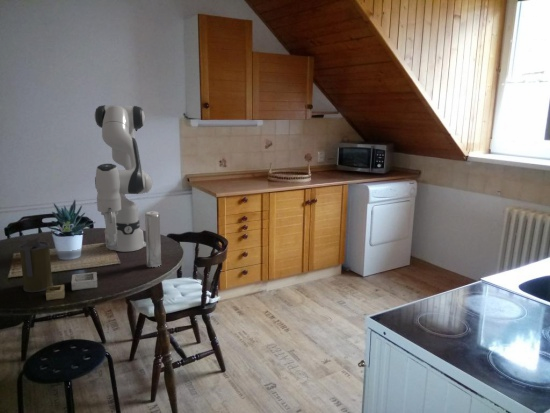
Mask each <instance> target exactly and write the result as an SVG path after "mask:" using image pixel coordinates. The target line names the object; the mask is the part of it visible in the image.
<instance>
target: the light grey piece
mask: <svg viewBox="0 0 550 413" xmlns="http://www.w3.org/2000/svg"><path fill="white" fill-rule="evenodd" d="M160 216H161V215H160V213H159V212H158V211H155V210H153V211H152V210H151V211H146V212H145V214H144V221H145V222H144V226H145V242H146V247H145V249H146V250H145V252H146V267H148V268H151V267H152V268H153V267H155V268H159V267H161V266H162V251H161V250H162V246H161V244H162V243H161V242H162V241H161V217H160ZM160 265H161V266H160ZM158 266H159V267H158Z"/></svg>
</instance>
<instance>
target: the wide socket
mask: <svg viewBox="0 0 550 413" xmlns="http://www.w3.org/2000/svg"><path fill="white" fill-rule="evenodd" d="M97 274H98V273H97V271H93V272H84V273H77V274H75V273H74V274H72V275H71V290H72V291H79V290H86V289H93V288H98V276H97Z"/></svg>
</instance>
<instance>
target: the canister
mask: <svg viewBox="0 0 550 413" xmlns="http://www.w3.org/2000/svg"><path fill="white" fill-rule="evenodd" d="M18 250H19V257H20V264H21V266H20V267H21V272H22V273H21V274H22V281H23V282H22V283H23V291H24V292H27V293H39V292H43V291H46V290H47V287H49V286H54V282H53V275H52V267H51V266H52V265H51V264H52V263H51V256H50V243H49V242H47V241H43V240H42V241H41V240H40V237H37V236H36V237H35V236H34V237H33V236H32V237H31V238H29V239H27V242H25V243H23V244H21V245H18Z"/></svg>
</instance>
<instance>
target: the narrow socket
mask: <svg viewBox="0 0 550 413" xmlns="http://www.w3.org/2000/svg"><path fill="white" fill-rule="evenodd" d="M65 289H66V288H65V284H59V285H53V286H49V287H47V290H45V297H46V301H51V300H60V299H64V298H65V296H66V290H65Z"/></svg>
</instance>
